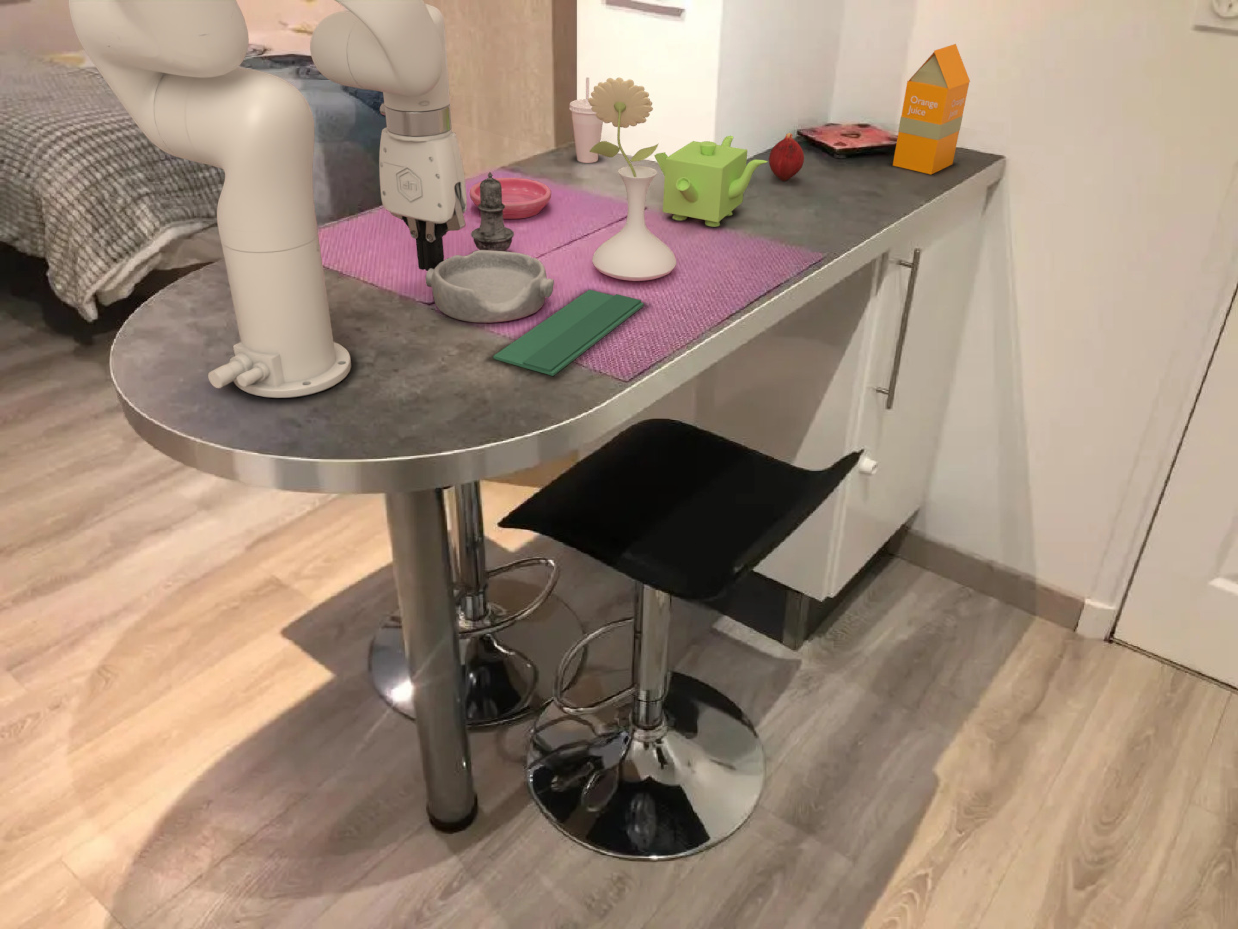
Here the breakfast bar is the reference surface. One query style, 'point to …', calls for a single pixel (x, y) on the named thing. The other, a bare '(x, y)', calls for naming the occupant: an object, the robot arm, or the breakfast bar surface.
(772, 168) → the onion
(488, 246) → the salt shaker
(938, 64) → the orange juice
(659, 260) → the flower in vase
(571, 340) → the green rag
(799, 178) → the breakfast bar surface
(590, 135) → the smoothie
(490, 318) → the dish
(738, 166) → the kettle
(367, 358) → the breakfast bar surface
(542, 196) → the saucer
